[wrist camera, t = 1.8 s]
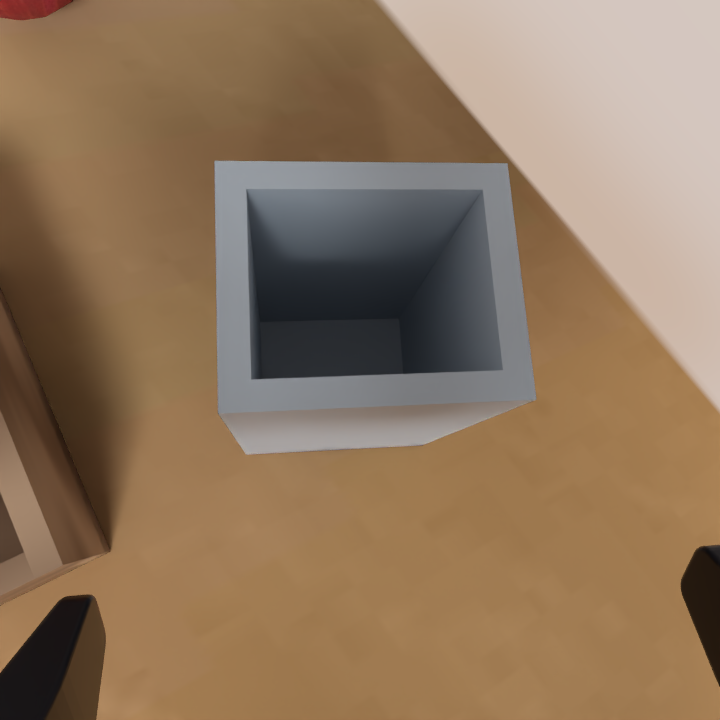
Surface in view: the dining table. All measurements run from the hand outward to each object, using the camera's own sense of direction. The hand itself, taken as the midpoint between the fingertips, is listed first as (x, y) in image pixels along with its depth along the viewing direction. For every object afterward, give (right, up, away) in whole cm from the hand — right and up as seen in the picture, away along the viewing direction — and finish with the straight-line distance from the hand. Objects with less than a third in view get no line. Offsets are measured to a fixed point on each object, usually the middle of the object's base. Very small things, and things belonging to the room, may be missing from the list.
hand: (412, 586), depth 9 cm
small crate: (-2, +3, +13) cm, 13 cm away
